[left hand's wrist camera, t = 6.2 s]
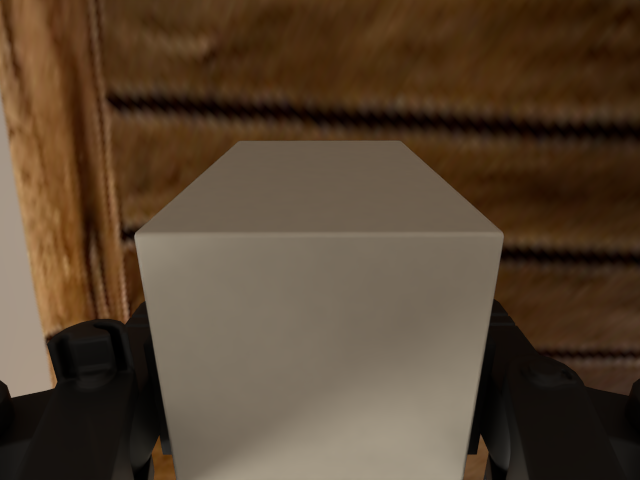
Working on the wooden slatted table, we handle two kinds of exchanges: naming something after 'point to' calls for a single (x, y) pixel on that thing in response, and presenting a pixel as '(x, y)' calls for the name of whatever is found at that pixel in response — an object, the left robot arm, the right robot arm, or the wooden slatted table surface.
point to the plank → (319, 314)
